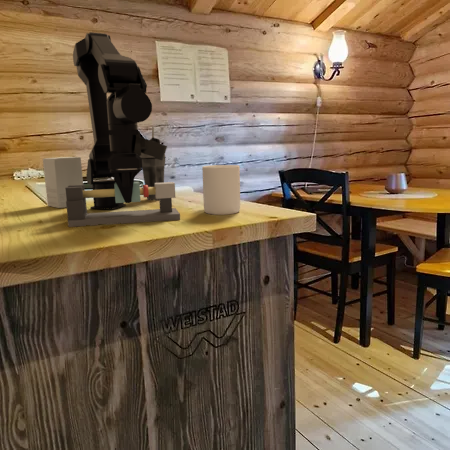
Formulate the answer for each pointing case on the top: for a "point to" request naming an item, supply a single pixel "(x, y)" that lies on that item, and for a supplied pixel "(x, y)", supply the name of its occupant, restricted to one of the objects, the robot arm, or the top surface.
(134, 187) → the sleeve
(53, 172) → the supplement box
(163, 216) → the grey peg fixture
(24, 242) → the top surface
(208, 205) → the mug
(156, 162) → the beverage cup
